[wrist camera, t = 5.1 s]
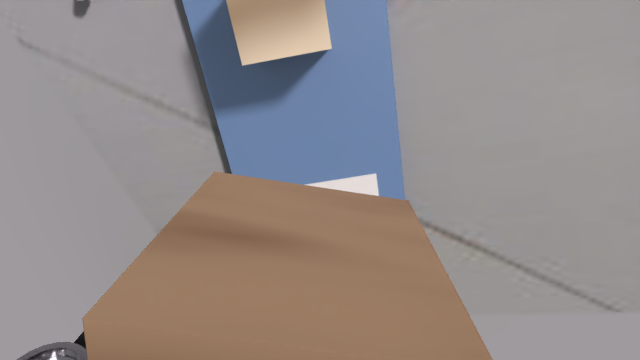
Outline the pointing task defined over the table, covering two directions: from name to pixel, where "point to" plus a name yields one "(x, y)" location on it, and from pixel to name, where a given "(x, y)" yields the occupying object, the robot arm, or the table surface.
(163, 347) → the walnut cube
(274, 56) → the maple cube
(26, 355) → the robot arm
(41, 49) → the table surface
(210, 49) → the board
